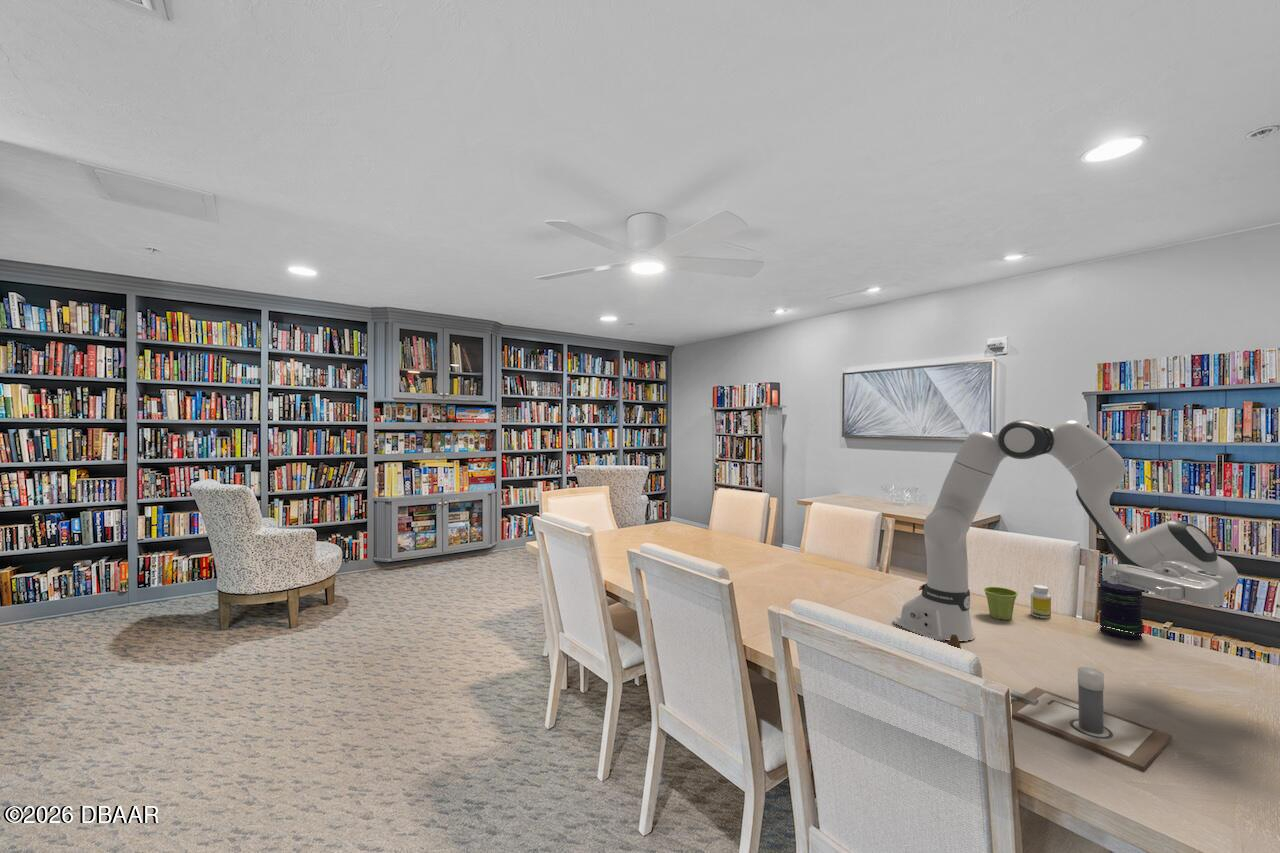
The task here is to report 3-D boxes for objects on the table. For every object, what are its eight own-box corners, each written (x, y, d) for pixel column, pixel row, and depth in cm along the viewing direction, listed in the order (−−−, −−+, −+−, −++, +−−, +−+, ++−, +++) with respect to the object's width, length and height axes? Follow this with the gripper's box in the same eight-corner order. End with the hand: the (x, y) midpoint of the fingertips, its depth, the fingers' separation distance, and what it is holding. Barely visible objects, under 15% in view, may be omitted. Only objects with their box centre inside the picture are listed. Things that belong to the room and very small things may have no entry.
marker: (1074, 726, 113) (1074, 670, 113) (1082, 720, 115) (1082, 665, 115) (1099, 736, 110) (1099, 678, 109) (1107, 729, 112) (1106, 672, 112)
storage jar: (1104, 637, 161) (1104, 587, 161) (1095, 625, 170) (1095, 578, 170) (1148, 643, 156) (1148, 592, 156) (1136, 631, 165) (1136, 583, 165)
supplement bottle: (1054, 619, 176) (1054, 589, 175) (1035, 618, 177) (1035, 588, 176) (1045, 613, 181) (1045, 584, 181) (1027, 612, 182) (1027, 583, 182)
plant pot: (1005, 624, 172) (1004, 597, 172) (977, 614, 181) (977, 588, 181) (1024, 619, 175) (1024, 593, 175) (996, 610, 184) (996, 585, 184)
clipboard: (993, 710, 122) (993, 703, 122) (1028, 687, 131) (1028, 681, 131) (1143, 771, 100) (1143, 762, 100) (1171, 739, 110) (1171, 731, 110)
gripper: (1125, 556, 135) (1084, 560, 132) (1233, 579, 116) (1189, 585, 112) (1125, 581, 135) (1084, 586, 132) (1233, 608, 116) (1189, 615, 112)
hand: (1133, 585), depth 122 cm, fingers open, 8 cm apart
